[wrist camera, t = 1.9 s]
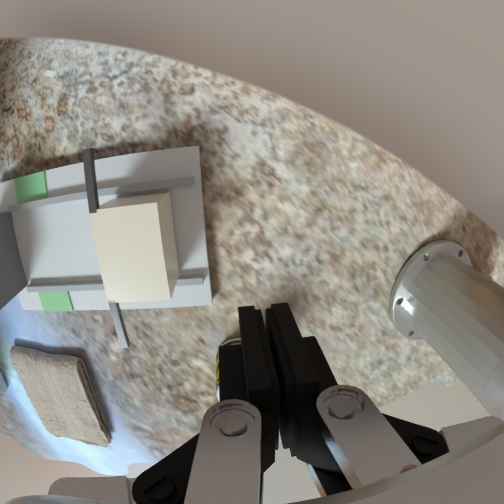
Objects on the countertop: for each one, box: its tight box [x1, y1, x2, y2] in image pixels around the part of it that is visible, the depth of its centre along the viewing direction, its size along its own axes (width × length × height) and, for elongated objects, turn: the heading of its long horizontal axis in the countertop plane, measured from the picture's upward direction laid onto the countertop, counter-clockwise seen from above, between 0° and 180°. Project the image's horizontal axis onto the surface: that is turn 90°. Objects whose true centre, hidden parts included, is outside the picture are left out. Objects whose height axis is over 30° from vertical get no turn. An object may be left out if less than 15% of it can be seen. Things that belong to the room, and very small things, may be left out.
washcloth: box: [10, 346, 111, 447], centre depth 31 cm, size 12×18×3 cm, turn 178°
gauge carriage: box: [82, 148, 180, 348], centre depth 22 cm, size 5×15×5 cm, turn 3°
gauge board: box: [0, 146, 213, 311], centre depth 22 cm, size 22×14×7 cm, turn 93°
